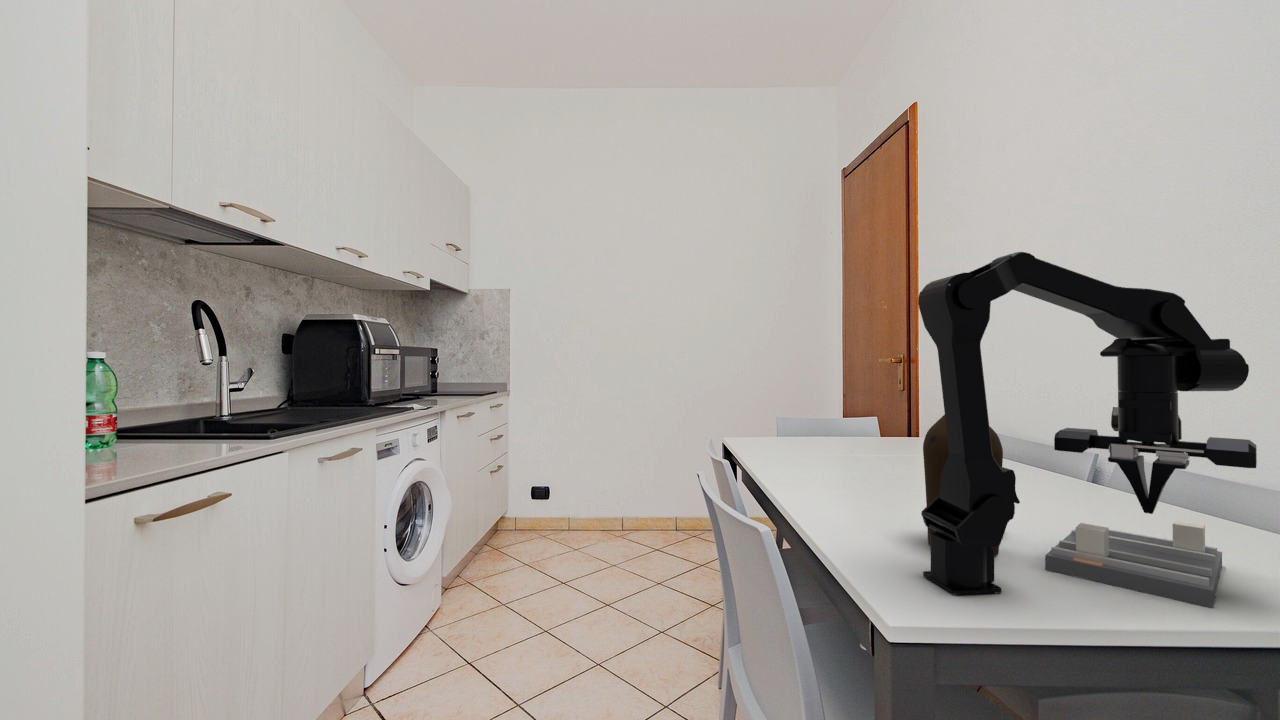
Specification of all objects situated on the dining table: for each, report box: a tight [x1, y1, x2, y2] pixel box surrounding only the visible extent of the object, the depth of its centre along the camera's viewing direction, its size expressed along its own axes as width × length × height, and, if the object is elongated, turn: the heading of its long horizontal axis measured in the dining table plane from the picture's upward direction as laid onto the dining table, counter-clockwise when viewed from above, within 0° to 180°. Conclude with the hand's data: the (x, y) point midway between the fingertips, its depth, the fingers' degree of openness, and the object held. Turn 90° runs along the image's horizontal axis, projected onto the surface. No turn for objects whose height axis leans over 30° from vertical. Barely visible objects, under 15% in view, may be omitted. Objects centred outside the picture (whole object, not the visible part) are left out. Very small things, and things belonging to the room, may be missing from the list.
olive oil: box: [922, 413, 1004, 557], centre depth 85 cm, size 11×11×25 cm
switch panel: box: [1044, 528, 1223, 609], centre depth 76 cm, size 20×16×3 cm
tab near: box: [1075, 522, 1110, 557], centre depth 75 cm, size 3×3×4 cm
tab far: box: [1172, 519, 1206, 553], centre depth 77 cm, size 3×3×4 cm
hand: (1148, 512), depth 71 cm, fingers closed
